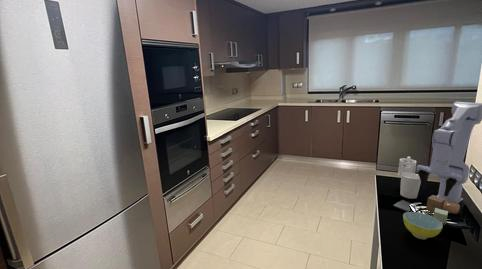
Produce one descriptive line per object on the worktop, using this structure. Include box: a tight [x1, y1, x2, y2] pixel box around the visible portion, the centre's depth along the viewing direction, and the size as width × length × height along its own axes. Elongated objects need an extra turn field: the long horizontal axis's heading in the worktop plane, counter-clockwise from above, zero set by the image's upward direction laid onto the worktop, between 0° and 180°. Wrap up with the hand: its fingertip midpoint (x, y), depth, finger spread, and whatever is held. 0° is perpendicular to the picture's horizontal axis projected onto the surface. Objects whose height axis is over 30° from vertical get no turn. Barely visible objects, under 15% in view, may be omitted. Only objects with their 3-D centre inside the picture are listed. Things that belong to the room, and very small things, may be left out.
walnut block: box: [425, 194, 445, 214], centre depth 107 cm, size 4×4×6 cm
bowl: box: [402, 211, 444, 240], centre depth 91 cm, size 11×12×6 cm
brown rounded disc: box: [443, 200, 461, 215], centre depth 109 cm, size 6×6×3 cm
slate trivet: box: [393, 199, 413, 212], centre depth 111 cm, size 8×8×1 cm
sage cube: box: [432, 208, 449, 225], centre depth 101 cm, size 4×4×4 cm
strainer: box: [397, 156, 417, 178], centre depth 130 cm, size 7×7×15 cm
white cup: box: [399, 173, 422, 200], centre depth 121 cm, size 8×8×10 cm
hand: (434, 192), depth 104 cm, fingers open, 7 cm apart
